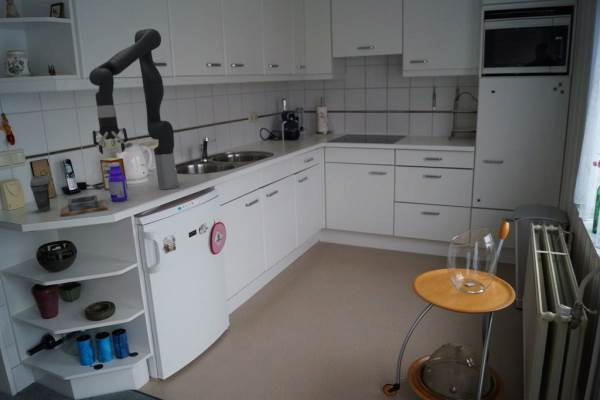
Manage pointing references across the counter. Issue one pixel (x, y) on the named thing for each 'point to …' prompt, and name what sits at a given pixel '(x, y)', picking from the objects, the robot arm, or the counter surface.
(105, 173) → the baking soda box
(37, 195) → the beverage cup
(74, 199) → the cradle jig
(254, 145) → the counter surface
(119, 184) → the bottle
